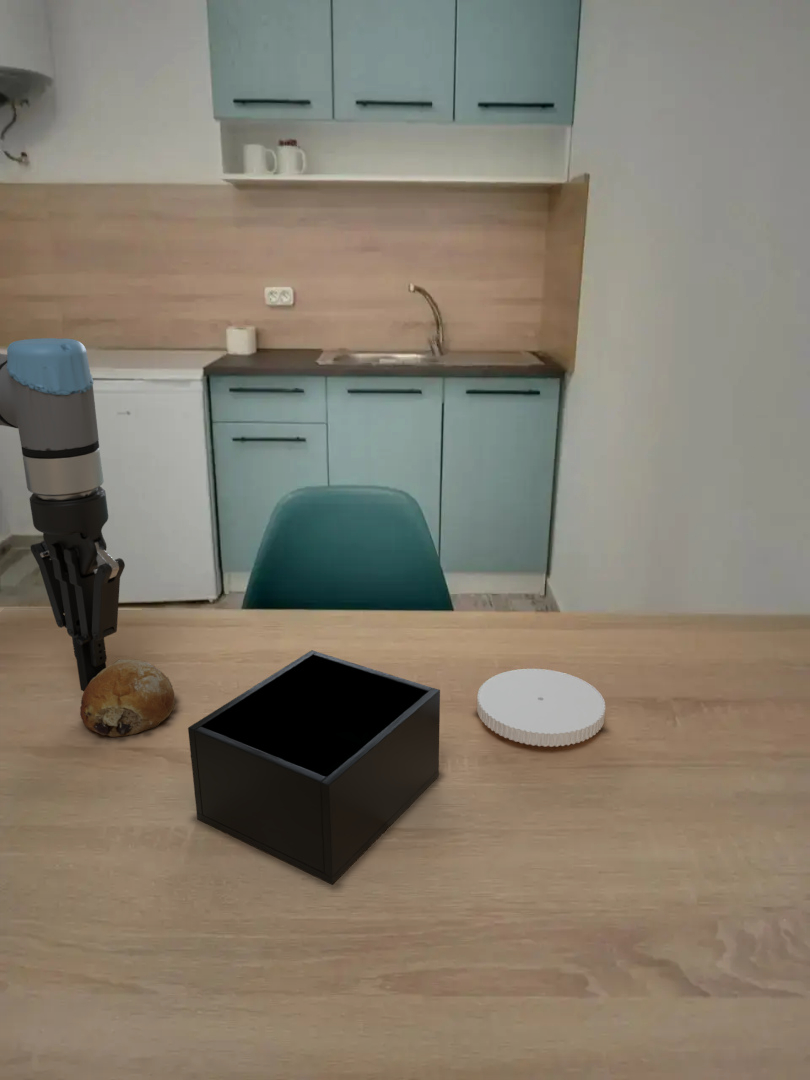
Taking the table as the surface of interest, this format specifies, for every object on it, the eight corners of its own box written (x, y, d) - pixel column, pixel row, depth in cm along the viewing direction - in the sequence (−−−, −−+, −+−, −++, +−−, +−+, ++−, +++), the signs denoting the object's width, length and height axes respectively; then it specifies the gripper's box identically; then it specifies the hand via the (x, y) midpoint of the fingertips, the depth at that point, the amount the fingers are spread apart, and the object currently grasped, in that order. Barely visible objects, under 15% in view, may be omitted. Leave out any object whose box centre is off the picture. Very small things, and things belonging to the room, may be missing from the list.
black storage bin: (196, 819, 76) (187, 727, 73) (315, 730, 90) (311, 649, 87) (332, 885, 69) (328, 785, 65) (438, 776, 83) (440, 689, 79)
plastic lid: (463, 742, 88) (464, 721, 87) (490, 679, 101) (491, 661, 100) (597, 765, 84) (599, 743, 84) (608, 697, 97) (610, 678, 96)
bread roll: (185, 741, 95) (201, 672, 95) (116, 748, 86) (134, 672, 86) (125, 716, 100) (141, 651, 100) (54, 721, 91) (71, 649, 91)
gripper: (137, 490, 87) (158, 688, 95) (58, 473, 94) (85, 659, 102) (76, 509, 81) (105, 717, 89) (-3, 488, 88) (30, 685, 96)
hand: (94, 686), depth 95 cm, fingers closed
